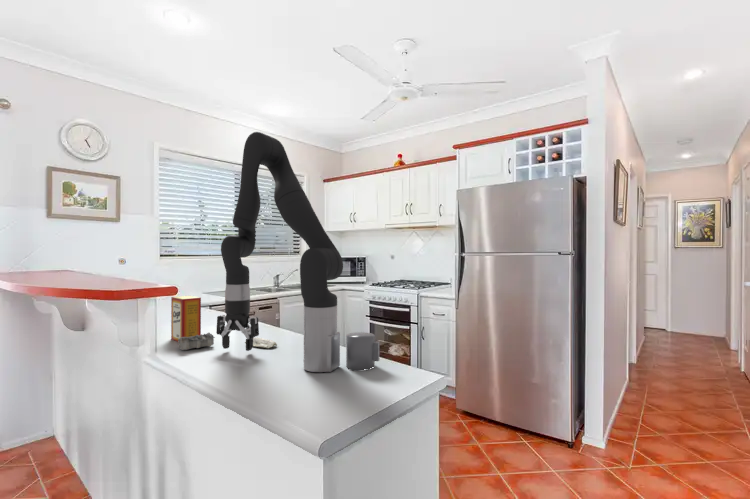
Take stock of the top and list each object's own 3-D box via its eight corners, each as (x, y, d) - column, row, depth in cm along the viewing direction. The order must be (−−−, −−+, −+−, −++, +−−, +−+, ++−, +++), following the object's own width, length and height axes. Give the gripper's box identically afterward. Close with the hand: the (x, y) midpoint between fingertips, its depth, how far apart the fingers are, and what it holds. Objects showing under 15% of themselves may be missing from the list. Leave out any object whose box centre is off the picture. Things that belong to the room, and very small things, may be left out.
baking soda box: (171, 339, 145) (171, 296, 145) (189, 336, 150) (189, 294, 150) (182, 343, 139) (182, 298, 139) (200, 340, 144) (200, 296, 144)
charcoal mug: (382, 365, 113) (383, 333, 113) (374, 373, 106) (374, 339, 106) (352, 362, 116) (352, 331, 116) (341, 369, 109) (341, 337, 109)
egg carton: (180, 350, 126) (179, 338, 126) (177, 347, 132) (176, 335, 132) (215, 345, 132) (215, 333, 132) (211, 342, 138) (210, 330, 138)
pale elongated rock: (242, 343, 134) (249, 332, 137) (250, 349, 138) (256, 339, 140) (268, 349, 128) (274, 338, 131) (275, 356, 132) (282, 345, 134)
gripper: (263, 297, 127) (263, 348, 127) (226, 295, 131) (226, 344, 131) (249, 300, 120) (249, 354, 120) (210, 298, 124) (210, 350, 124)
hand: (237, 349), depth 125 cm, fingers open, 8 cm apart
